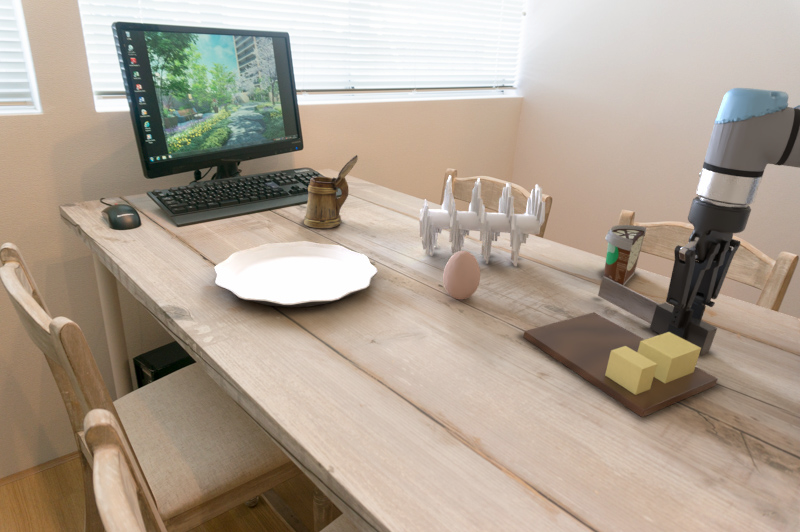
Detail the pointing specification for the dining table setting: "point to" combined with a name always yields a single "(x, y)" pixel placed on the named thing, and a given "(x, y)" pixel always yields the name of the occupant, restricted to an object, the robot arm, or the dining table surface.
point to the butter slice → (630, 370)
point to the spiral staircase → (482, 220)
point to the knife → (655, 313)
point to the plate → (295, 273)
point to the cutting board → (589, 354)
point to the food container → (623, 252)
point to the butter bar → (670, 356)
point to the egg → (461, 275)
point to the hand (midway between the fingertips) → (679, 340)
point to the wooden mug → (327, 198)
